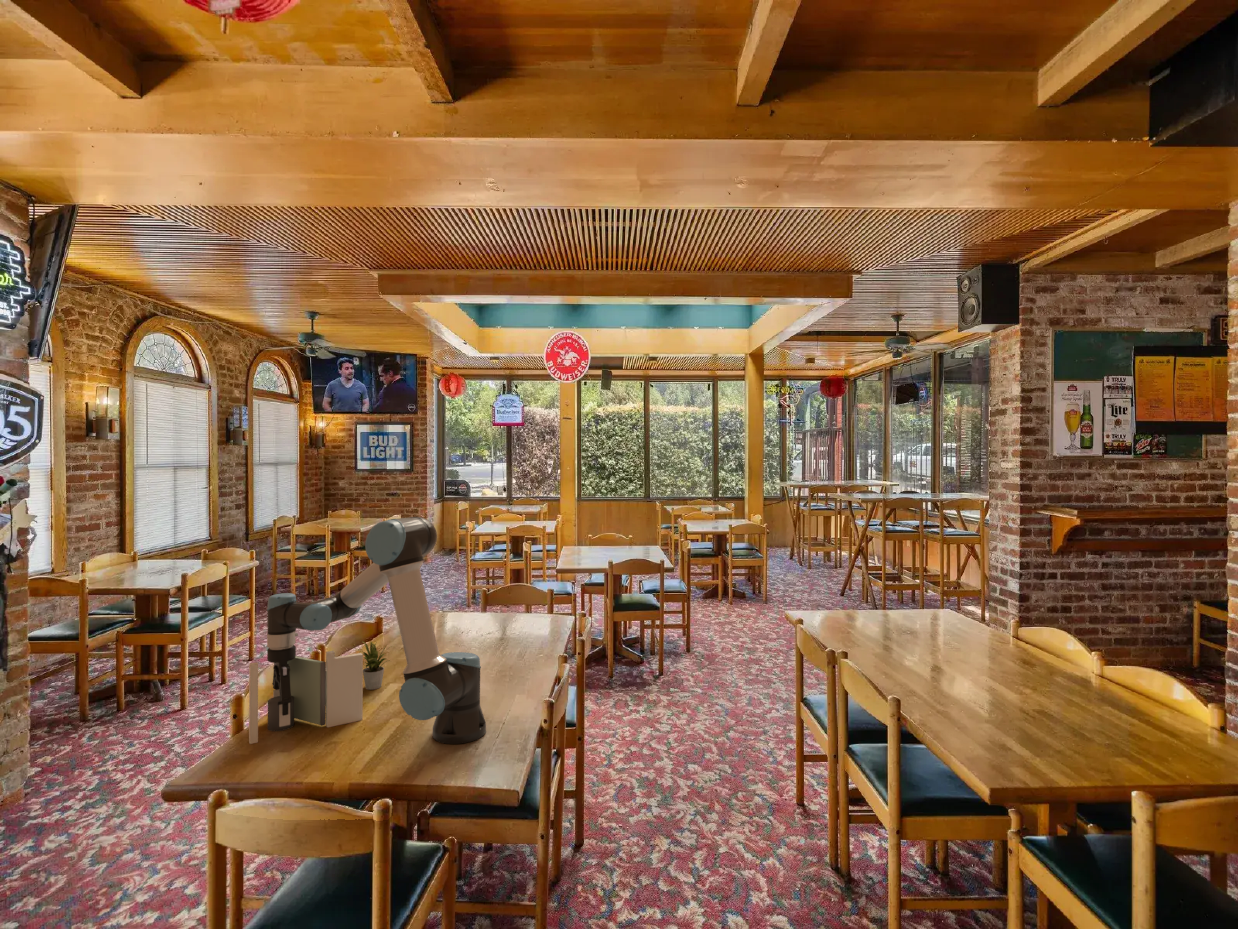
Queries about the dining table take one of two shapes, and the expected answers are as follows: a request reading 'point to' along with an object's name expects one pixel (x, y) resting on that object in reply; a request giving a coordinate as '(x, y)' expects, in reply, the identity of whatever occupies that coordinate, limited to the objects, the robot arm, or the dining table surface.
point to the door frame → (340, 691)
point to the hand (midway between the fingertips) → (281, 718)
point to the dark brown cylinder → (274, 714)
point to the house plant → (373, 667)
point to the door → (308, 689)
